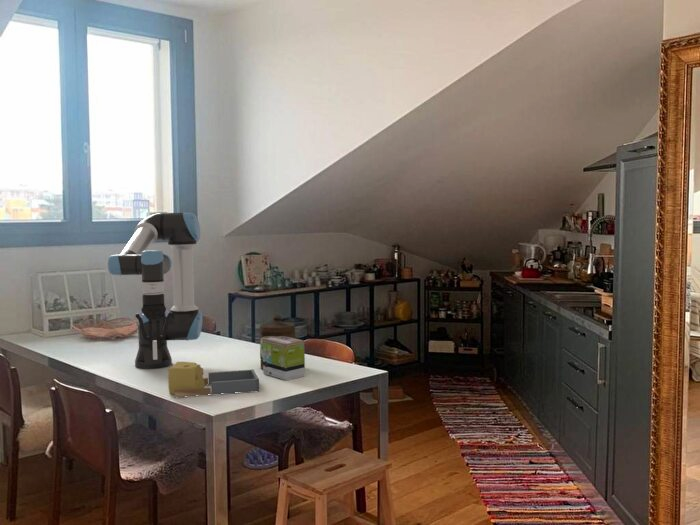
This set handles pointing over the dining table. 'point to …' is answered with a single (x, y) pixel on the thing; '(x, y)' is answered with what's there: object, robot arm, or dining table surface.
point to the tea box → (283, 357)
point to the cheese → (185, 376)
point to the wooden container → (275, 332)
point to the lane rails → (193, 391)
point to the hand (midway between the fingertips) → (155, 358)
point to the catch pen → (233, 381)
